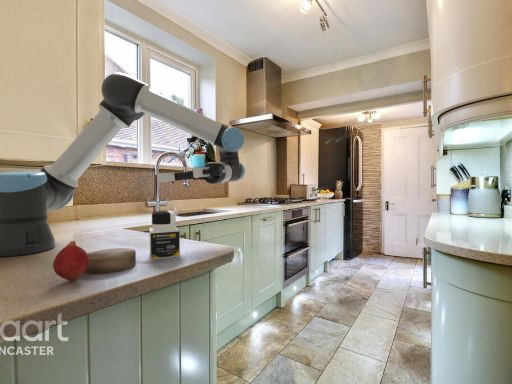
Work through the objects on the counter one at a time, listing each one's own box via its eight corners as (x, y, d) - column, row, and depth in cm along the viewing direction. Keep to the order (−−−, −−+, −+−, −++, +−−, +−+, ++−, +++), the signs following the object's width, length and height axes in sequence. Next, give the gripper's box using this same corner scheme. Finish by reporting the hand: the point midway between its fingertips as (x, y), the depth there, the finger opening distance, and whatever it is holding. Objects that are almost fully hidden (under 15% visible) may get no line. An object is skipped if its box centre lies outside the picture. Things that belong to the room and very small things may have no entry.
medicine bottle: (150, 260, 68) (150, 212, 68) (149, 253, 75) (148, 210, 74) (180, 257, 71) (179, 211, 71) (176, 251, 78) (175, 209, 77)
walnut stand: (93, 261, 67) (93, 249, 67) (140, 258, 69) (140, 247, 69) (72, 275, 57) (72, 261, 57) (128, 272, 59) (128, 258, 59)
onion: (51, 288, 50) (49, 245, 49) (57, 279, 55) (55, 239, 54) (88, 283, 52) (87, 242, 52) (90, 274, 57) (89, 237, 57)
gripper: (248, 179, 92) (212, 183, 73) (191, 186, 103) (146, 192, 84) (246, 157, 92) (208, 156, 73) (188, 166, 103) (143, 168, 84)
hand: (175, 175), depth 78 cm, fingers open, 13 cm apart
